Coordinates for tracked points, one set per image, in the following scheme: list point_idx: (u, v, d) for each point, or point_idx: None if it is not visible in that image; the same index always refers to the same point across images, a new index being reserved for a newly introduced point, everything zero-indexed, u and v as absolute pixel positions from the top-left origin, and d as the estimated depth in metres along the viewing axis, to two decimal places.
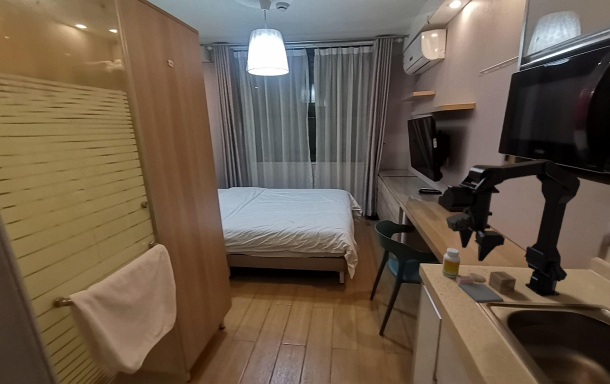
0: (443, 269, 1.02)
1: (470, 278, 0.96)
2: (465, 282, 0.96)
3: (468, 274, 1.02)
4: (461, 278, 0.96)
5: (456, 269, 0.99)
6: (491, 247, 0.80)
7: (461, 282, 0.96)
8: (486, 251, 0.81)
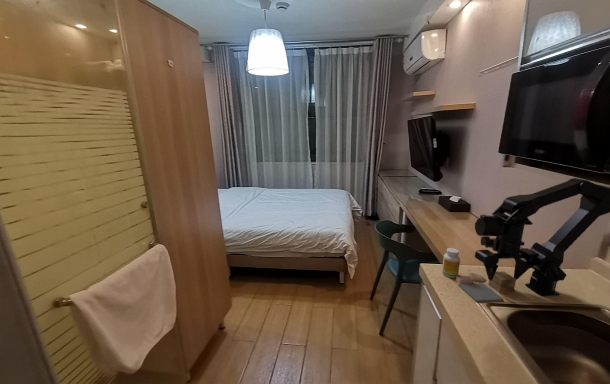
0: (443, 269, 1.02)
1: (470, 278, 0.96)
2: (465, 282, 0.96)
3: (468, 274, 1.02)
4: (461, 278, 0.96)
5: (456, 269, 0.99)
6: (490, 268, 0.89)
7: (462, 283, 0.96)
8: (489, 271, 0.91)
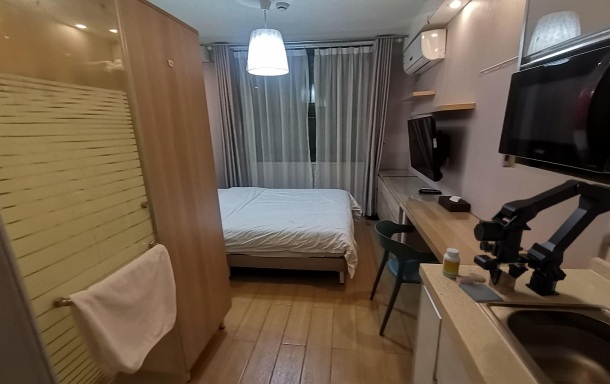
0: (443, 269, 1.02)
1: (470, 278, 0.96)
2: (465, 282, 0.96)
3: (468, 274, 1.02)
4: (461, 278, 0.96)
5: (456, 269, 0.99)
6: (495, 273, 0.90)
7: (462, 283, 0.96)
8: (493, 276, 0.91)
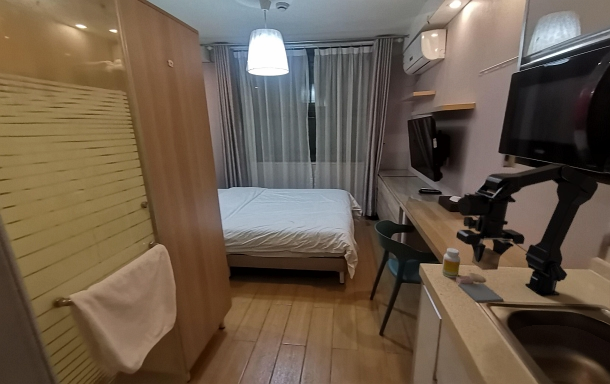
0: (443, 269, 1.02)
1: (470, 278, 0.96)
2: (465, 282, 0.96)
3: (468, 274, 1.02)
4: (461, 278, 0.96)
5: (456, 269, 0.99)
6: (478, 248, 0.85)
7: (462, 283, 0.96)
8: (477, 252, 0.87)
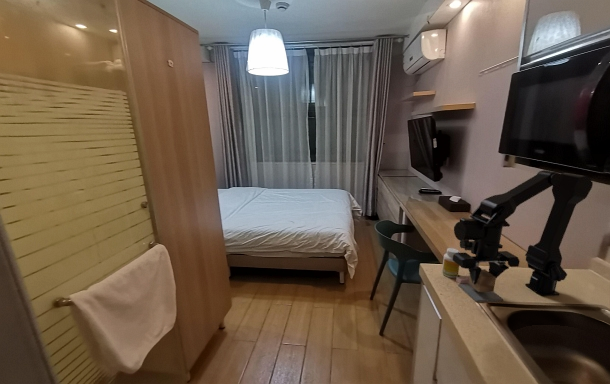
0: (443, 269, 1.02)
1: None
2: (465, 282, 0.96)
3: (468, 274, 1.02)
4: (461, 278, 0.96)
5: (456, 269, 0.99)
6: (474, 271, 0.87)
7: (462, 283, 0.96)
8: (473, 274, 0.88)
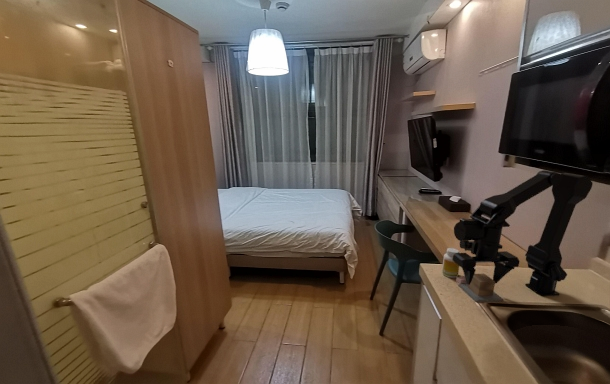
0: (443, 269, 1.02)
1: None
2: (465, 282, 0.96)
3: None
4: (461, 278, 0.96)
5: (456, 269, 0.99)
6: (468, 272, 0.87)
7: (462, 283, 0.96)
8: (467, 275, 0.88)
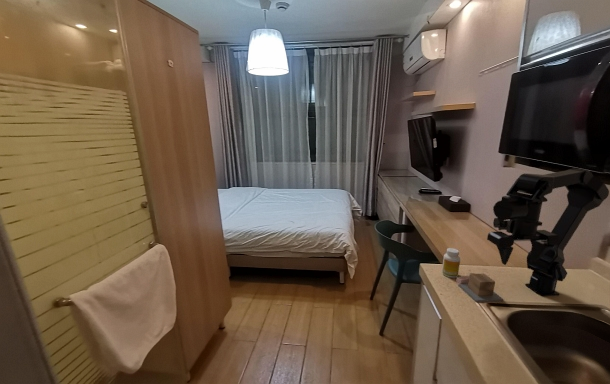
0: (443, 269, 1.02)
1: None
2: (465, 282, 0.96)
3: (468, 274, 1.02)
4: (461, 278, 0.96)
5: (456, 269, 0.99)
6: (505, 251, 0.83)
7: (462, 283, 0.96)
8: (503, 254, 0.84)
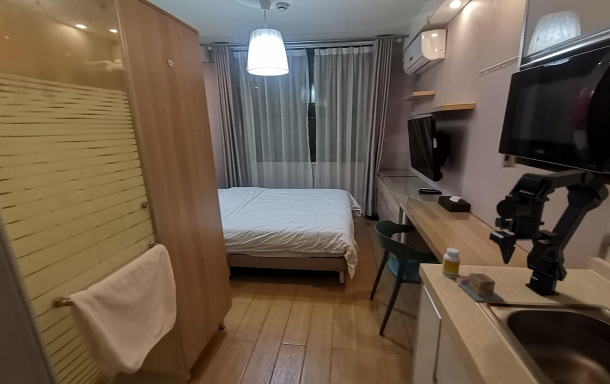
0: (443, 269, 1.02)
1: None
2: (465, 282, 0.96)
3: (468, 274, 1.02)
4: (462, 278, 0.96)
5: (456, 269, 0.99)
6: (507, 250, 0.83)
7: (462, 283, 0.96)
8: (505, 253, 0.84)
